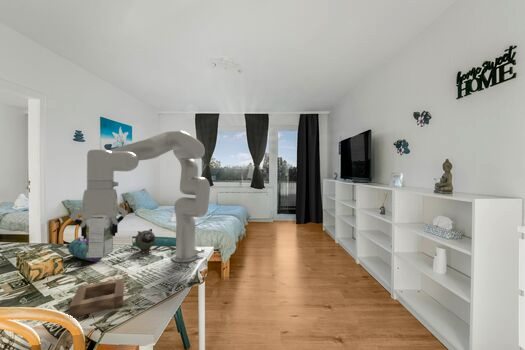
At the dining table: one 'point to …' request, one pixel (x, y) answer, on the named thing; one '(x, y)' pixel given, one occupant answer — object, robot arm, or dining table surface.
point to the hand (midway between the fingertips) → (100, 236)
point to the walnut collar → (99, 303)
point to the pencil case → (80, 249)
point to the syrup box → (99, 236)
